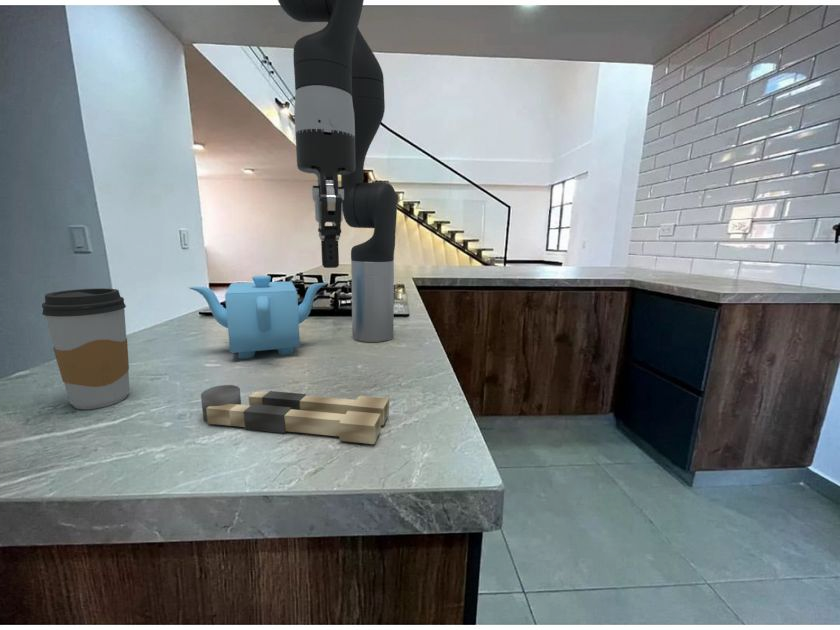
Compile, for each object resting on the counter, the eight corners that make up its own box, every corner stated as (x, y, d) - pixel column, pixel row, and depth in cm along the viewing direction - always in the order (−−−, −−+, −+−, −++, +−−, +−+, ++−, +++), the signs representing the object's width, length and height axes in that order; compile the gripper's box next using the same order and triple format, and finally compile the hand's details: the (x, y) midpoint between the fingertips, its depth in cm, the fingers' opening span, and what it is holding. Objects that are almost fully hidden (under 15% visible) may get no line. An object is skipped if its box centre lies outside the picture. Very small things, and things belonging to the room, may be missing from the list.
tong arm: (247, 413, 50) (246, 396, 49) (260, 403, 52) (259, 387, 52) (383, 426, 47) (383, 408, 46) (388, 415, 50) (388, 398, 49)
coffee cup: (128, 383, 59) (114, 286, 55) (147, 398, 53) (132, 292, 50) (54, 400, 52) (33, 292, 49) (67, 420, 47) (44, 300, 44)
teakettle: (267, 370, 65) (261, 284, 62) (190, 354, 72) (182, 277, 69) (333, 342, 82) (331, 274, 79) (266, 332, 89) (261, 268, 86)
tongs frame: (186, 427, 46) (183, 402, 45) (218, 406, 52) (216, 383, 51) (373, 446, 43) (373, 420, 42) (386, 421, 49) (386, 397, 48)
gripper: (295, 141, 55) (302, 263, 59) (294, 117, 42) (302, 273, 46) (348, 145, 57) (351, 262, 61) (362, 123, 45) (364, 272, 48)
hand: (330, 267), depth 54 cm, fingers closed
